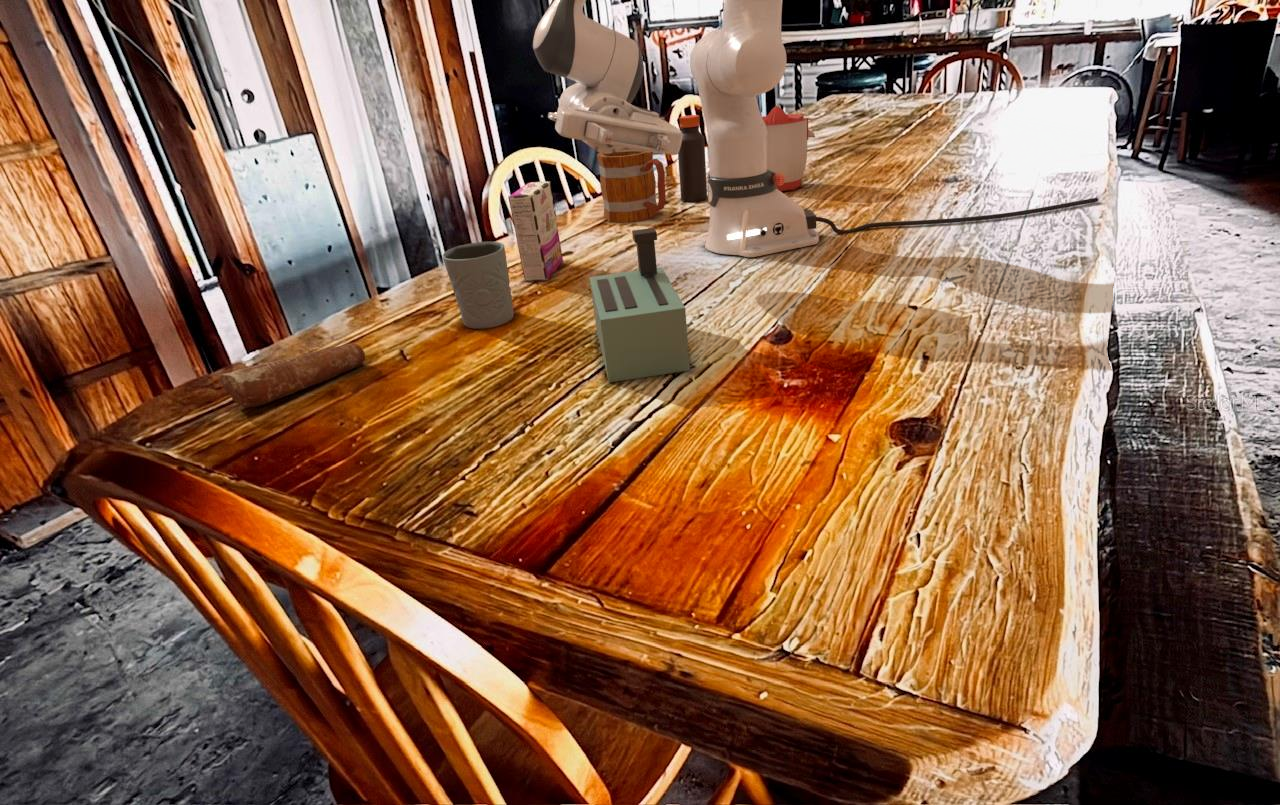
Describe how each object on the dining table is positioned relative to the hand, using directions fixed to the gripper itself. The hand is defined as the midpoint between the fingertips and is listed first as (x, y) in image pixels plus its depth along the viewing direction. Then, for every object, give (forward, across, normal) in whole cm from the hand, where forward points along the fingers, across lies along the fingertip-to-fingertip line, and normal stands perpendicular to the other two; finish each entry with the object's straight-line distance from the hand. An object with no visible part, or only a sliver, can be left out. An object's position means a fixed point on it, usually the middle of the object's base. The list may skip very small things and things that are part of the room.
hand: (636, 141), depth 104 cm
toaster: (+18, -1, +26) cm, 31 cm away
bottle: (-62, +46, +21) cm, 80 cm away
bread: (+2, -45, +41) cm, 61 cm away
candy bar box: (-28, -2, +31) cm, 42 cm away
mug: (-55, +29, +25) cm, 67 cm away
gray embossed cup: (-9, -17, +34) cm, 38 cm away
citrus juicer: (-57, +68, +14) cm, 89 cm away
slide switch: (+12, +1, +16) cm, 20 cm away
